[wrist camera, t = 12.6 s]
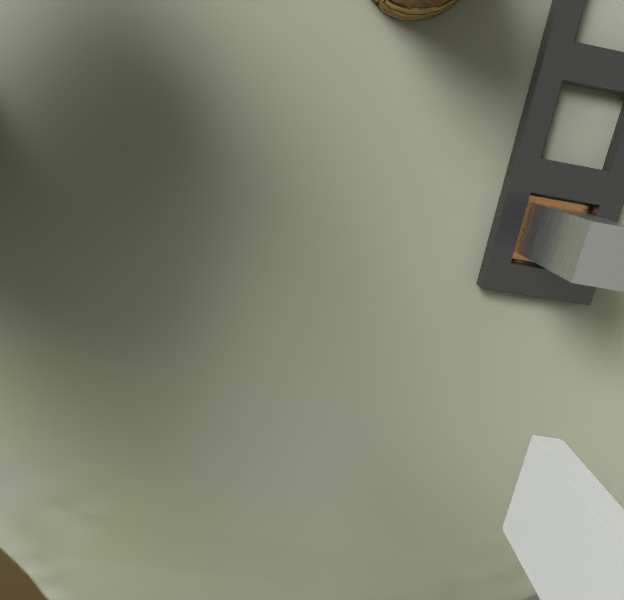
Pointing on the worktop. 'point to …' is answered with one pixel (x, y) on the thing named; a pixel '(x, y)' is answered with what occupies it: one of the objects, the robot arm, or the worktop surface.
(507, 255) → the dark grey slotted board
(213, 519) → the worktop surface
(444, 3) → the wooden mug
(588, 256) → the steel peg
